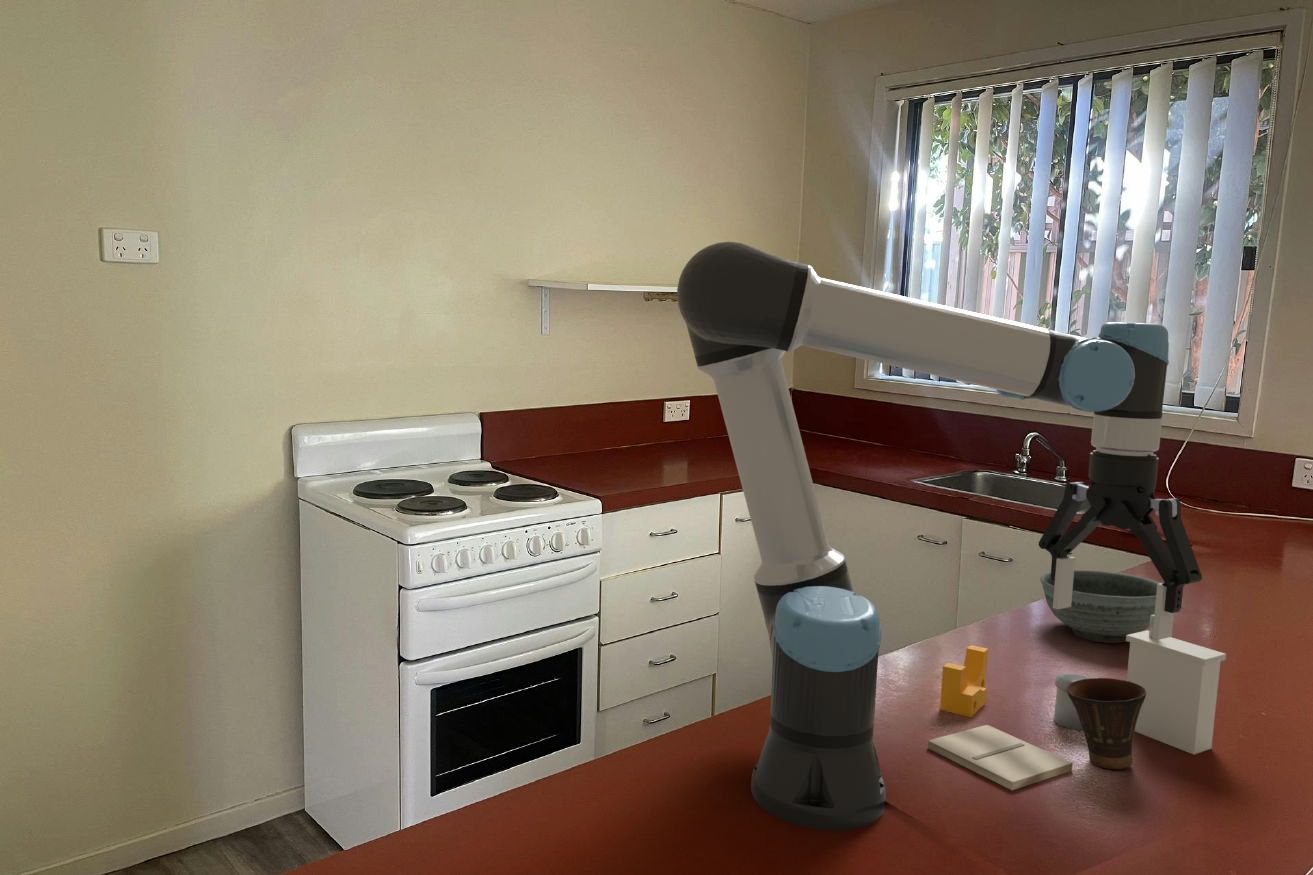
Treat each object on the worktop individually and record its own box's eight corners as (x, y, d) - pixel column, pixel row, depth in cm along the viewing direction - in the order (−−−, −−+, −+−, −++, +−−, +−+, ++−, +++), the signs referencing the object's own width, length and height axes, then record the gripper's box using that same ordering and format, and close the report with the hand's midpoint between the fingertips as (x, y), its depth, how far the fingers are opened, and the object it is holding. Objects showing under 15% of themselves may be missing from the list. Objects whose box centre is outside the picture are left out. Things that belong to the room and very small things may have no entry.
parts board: (1011, 790, 118) (1012, 781, 118) (927, 747, 129) (928, 739, 128) (1071, 770, 123) (1072, 761, 123) (986, 731, 134) (987, 723, 134)
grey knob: (1079, 733, 135) (1084, 690, 134) (1043, 719, 139) (1047, 677, 139) (1103, 725, 138) (1108, 683, 137) (1067, 711, 142) (1071, 670, 142)
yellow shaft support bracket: (970, 718, 139) (973, 673, 139) (939, 710, 142) (942, 666, 141) (997, 693, 149) (1000, 651, 148) (967, 686, 152) (970, 644, 151)
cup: (1050, 744, 131) (1056, 670, 130) (1120, 748, 131) (1127, 673, 130) (1076, 775, 122) (1083, 696, 121) (1151, 779, 122) (1159, 699, 121)
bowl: (1132, 664, 164) (1138, 604, 163) (1013, 631, 179) (1018, 576, 178) (1185, 640, 178) (1190, 584, 176) (1070, 611, 193) (1074, 560, 192)
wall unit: (1195, 756, 129) (1207, 636, 127) (1117, 725, 138) (1128, 613, 136) (1216, 748, 131) (1228, 631, 130) (1138, 719, 141) (1149, 608, 139)
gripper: (1246, 463, 114) (1228, 646, 116) (1055, 437, 135) (1043, 592, 137) (1209, 467, 110) (1190, 656, 112) (1018, 439, 131) (1006, 599, 133)
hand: (1109, 621), depth 125 cm, fingers open, 13 cm apart
